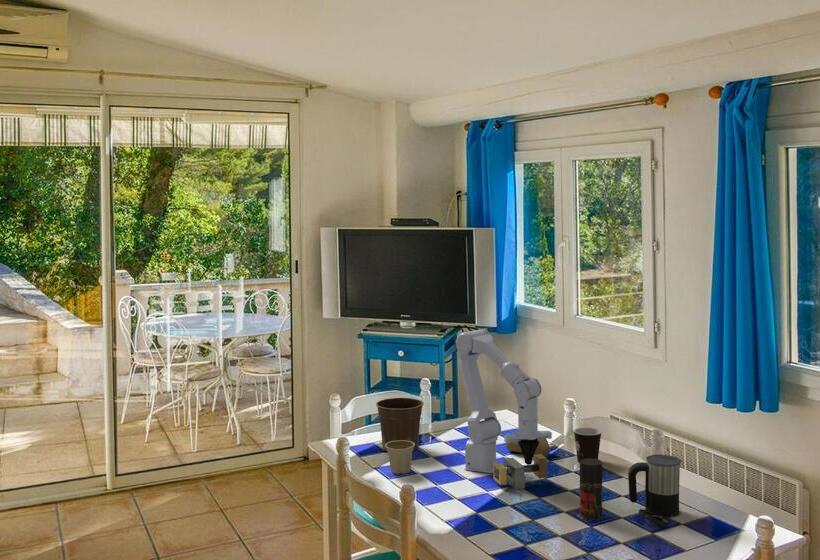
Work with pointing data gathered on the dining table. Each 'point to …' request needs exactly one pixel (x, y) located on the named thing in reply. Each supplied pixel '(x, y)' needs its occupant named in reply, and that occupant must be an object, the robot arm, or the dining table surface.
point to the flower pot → (400, 455)
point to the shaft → (532, 467)
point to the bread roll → (541, 449)
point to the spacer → (500, 473)
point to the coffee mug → (587, 443)
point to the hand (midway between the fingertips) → (528, 463)
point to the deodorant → (591, 489)
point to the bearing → (515, 473)
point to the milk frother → (657, 487)
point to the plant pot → (400, 419)
